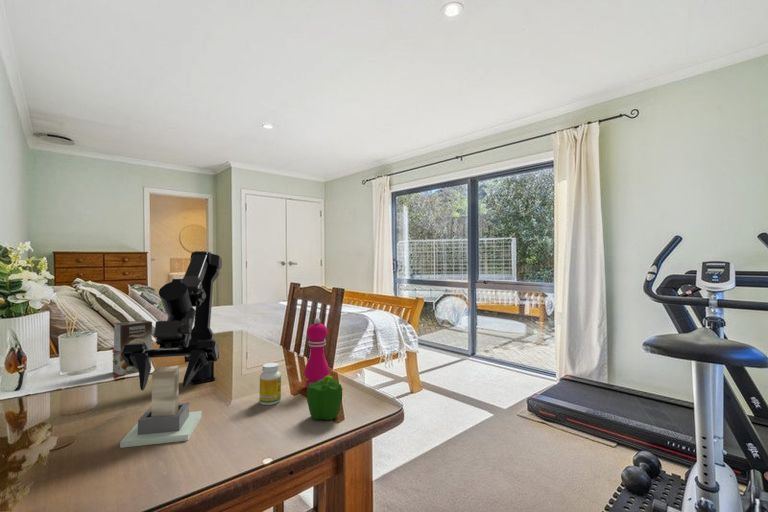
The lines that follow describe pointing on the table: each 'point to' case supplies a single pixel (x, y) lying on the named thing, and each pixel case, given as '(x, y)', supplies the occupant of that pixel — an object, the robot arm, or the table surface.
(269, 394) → the supplement bottle
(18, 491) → the table surface
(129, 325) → the coffee box
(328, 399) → the bell pepper
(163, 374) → the plug block
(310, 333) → the pepper mill
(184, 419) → the socket holder
